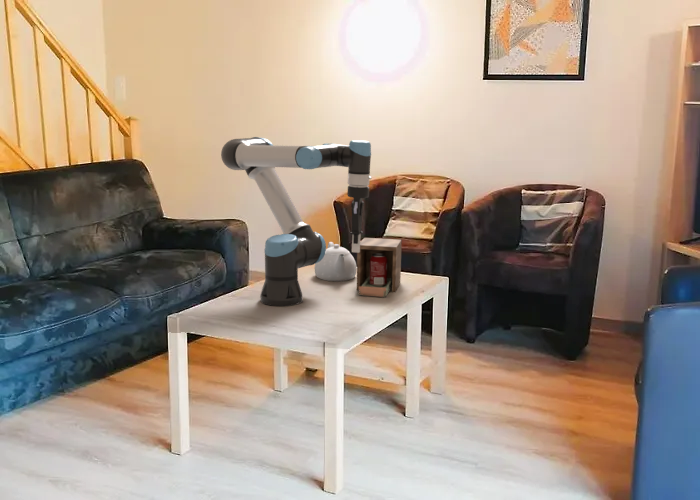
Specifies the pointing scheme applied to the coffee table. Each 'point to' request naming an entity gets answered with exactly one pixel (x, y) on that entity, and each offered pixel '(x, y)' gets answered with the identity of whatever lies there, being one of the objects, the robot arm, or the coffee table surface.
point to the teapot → (336, 264)
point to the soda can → (378, 270)
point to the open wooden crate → (385, 247)
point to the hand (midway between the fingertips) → (355, 251)
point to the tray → (375, 289)
